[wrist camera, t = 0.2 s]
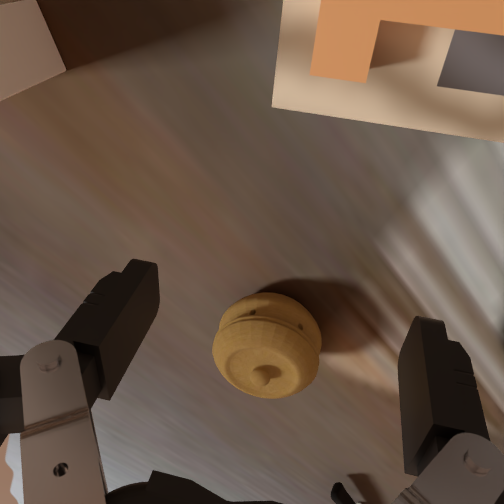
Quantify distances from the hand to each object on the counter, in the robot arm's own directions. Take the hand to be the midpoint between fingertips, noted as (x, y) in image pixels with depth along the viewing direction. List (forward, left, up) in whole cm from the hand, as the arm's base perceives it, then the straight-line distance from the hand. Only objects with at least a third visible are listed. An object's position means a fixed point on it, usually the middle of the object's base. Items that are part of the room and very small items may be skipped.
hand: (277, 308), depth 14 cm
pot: (+28, -2, -28) cm, 40 cm away
